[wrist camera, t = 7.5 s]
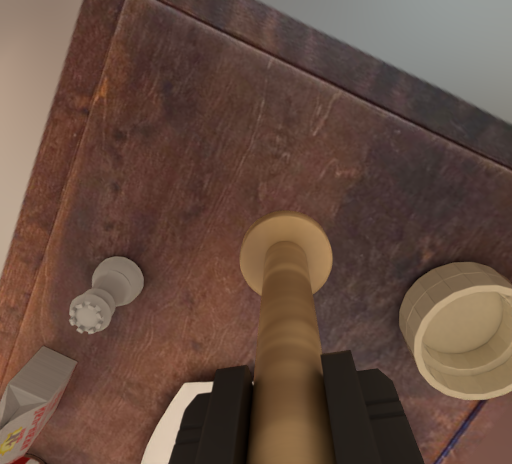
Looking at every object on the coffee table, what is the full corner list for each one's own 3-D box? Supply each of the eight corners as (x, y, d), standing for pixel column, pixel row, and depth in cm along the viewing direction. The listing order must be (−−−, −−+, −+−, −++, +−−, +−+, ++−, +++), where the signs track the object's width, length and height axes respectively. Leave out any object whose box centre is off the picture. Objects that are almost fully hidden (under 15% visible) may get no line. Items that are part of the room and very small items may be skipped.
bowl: (447, 237, 39) (473, 260, 34) (539, 298, 40) (577, 329, 35) (374, 325, 42) (387, 359, 36) (462, 380, 43) (487, 420, 38)
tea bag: (21, 396, 46) (-47, 476, 37) (43, 345, 44) (-23, 416, 35) (54, 411, 47) (-4, 494, 37) (77, 362, 45) (22, 436, 35)
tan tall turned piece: (273, 192, 20) (256, 454, 5) (348, 242, 20) (517, 605, 6) (224, 263, 21) (99, 641, 6) (296, 309, 21) (330, 757, 7)
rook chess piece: (93, 255, 41) (50, 293, 33) (141, 252, 41) (108, 290, 33) (102, 300, 42) (62, 346, 35) (149, 298, 42) (119, 344, 34)
